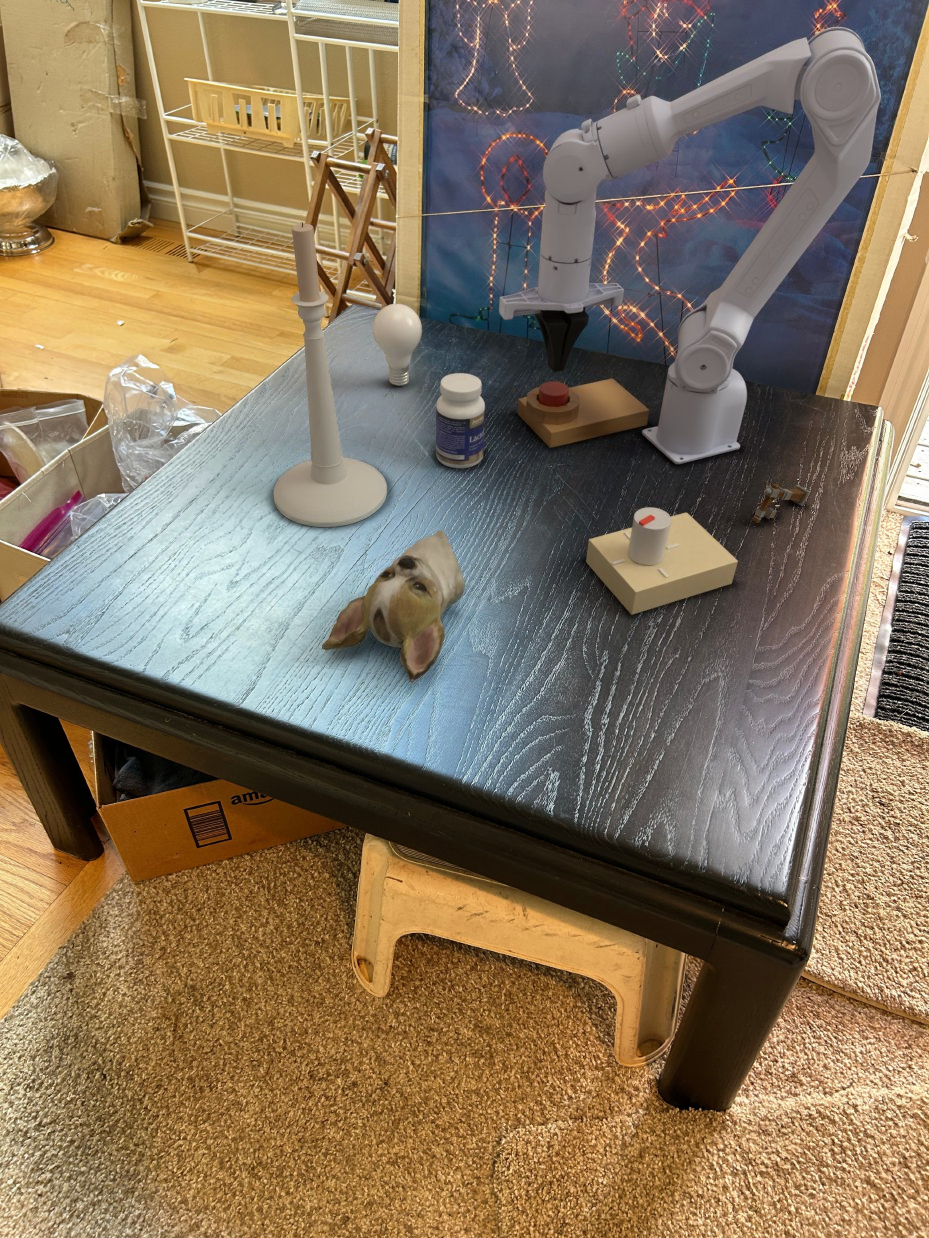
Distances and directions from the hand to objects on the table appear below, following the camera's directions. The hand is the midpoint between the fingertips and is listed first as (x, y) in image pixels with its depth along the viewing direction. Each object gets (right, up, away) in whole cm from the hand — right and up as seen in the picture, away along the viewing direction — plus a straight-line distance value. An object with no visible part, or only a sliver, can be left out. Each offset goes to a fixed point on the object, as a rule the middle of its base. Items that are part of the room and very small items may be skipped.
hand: (555, 367), depth 109 cm
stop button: (0, -3, +3) cm, 5 cm away
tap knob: (+7, -24, -18) cm, 31 cm away
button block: (+4, -5, +7) cm, 9 cm away
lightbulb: (-20, +1, +13) cm, 24 cm away
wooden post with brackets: (+24, -19, -7) cm, 32 cm away
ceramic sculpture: (-16, -32, -22) cm, 42 cm away
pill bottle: (-12, -11, 0) cm, 16 cm away
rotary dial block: (+9, -26, -16) cm, 31 cm away
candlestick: (-26, -16, -6) cm, 31 cm away
